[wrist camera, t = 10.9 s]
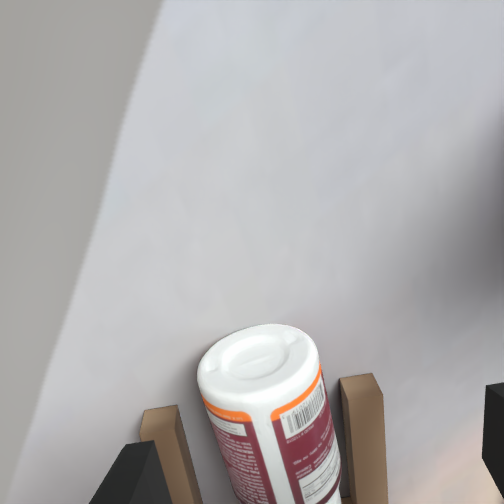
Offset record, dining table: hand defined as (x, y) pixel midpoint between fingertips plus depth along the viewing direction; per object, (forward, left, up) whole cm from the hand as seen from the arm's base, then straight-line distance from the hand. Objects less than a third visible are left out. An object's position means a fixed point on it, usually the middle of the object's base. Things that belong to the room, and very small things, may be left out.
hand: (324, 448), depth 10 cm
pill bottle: (+1, +2, -7) cm, 7 cm away
